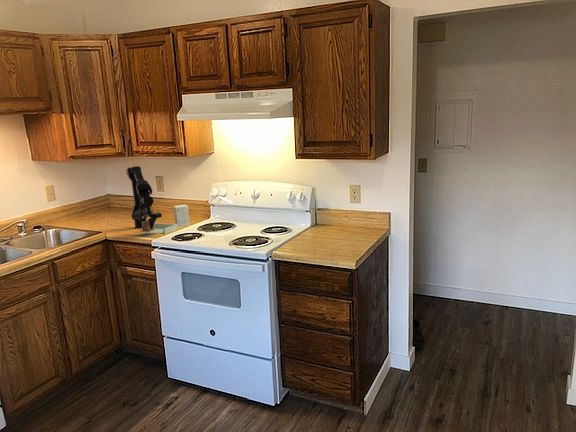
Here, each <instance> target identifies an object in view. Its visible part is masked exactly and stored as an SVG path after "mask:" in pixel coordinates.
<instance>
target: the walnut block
mask: <svg viewBox="0 0 576 432" xmlns="http://www.w3.org/2000/svg"><path fill="white" fill-rule="evenodd" d="M141 223H142V228H141V232H142V231H143V232H142V233H151V232H150V231H153V230H155V229H154V226H153V229H151V227H150V221H149V220H148V219H146V221H143V222H141Z"/></svg>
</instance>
